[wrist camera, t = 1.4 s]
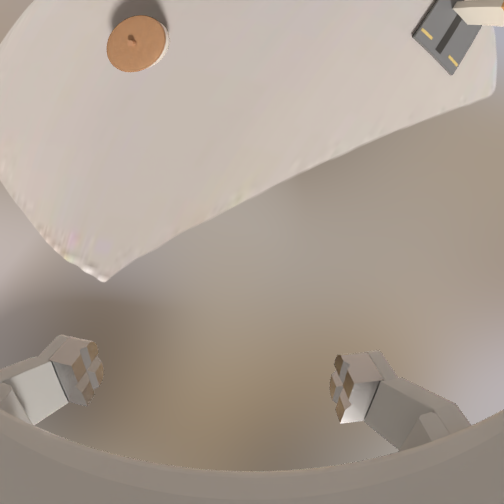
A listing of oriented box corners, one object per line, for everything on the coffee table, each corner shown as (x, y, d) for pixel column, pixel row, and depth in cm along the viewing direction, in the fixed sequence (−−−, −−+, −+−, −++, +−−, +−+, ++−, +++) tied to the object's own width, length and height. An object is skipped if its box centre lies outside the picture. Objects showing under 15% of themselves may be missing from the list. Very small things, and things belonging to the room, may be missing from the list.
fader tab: (456, 0, 27) (508, -2, 14) (471, 17, 28) (524, 20, 15) (452, 8, 29) (504, 6, 15) (467, 25, 30) (520, 29, 17)
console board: (446, -15, 26) (449, -16, 25) (480, 22, 29) (483, 22, 28) (412, 37, 36) (414, 37, 36) (449, 74, 40) (452, 75, 39)
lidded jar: (117, 64, 42) (94, 67, 34) (135, 16, 36) (114, 10, 28) (164, 75, 44) (148, 78, 37) (185, 26, 38) (171, 19, 31)
